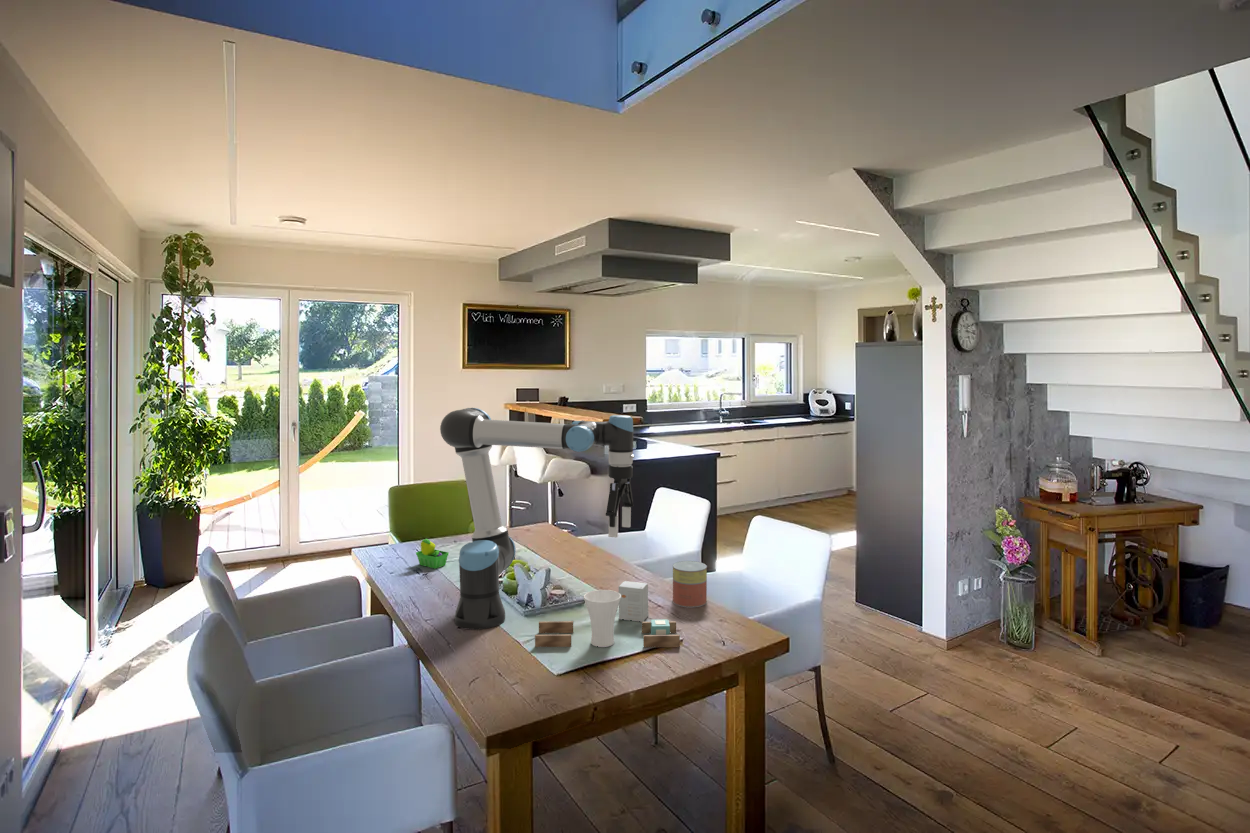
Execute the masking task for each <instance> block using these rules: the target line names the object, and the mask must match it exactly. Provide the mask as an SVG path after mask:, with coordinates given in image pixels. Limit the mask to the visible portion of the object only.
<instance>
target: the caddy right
mask: <svg viewBox="0 0 1250 833" xmlns="http://www.w3.org/2000/svg"><path fill="white" fill-rule="evenodd" d="M669 624H670V632H671V633H670V635H651V621H643V622H641V634H643V640H642V641H643V644H642V645H643V646H644V647H643V648H680V646H681V642H680V641H681V638H680V637H681V636H680V634H677V621H675V620H674V621H672V620H671V621H669Z"/></svg>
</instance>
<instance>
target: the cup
mask: <svg viewBox="0 0 1250 833" xmlns="http://www.w3.org/2000/svg"><path fill="white" fill-rule="evenodd" d="M620 598H621V594H620V593H619V591H615V590H611V589H596V590H590V591H588V592H586V593H585V594H584V595H583V600H584V603H585V605H586V609H587V612H588V615H589V619H590V626H591V627H590V628H591V640H590V643H591V645H592V646H594V647H597V646H598V648H605V647H606V648H607V647H611V646H614V644H615V637H614V630H615V620H616V615H617V612H618V609H619V602H620Z"/></svg>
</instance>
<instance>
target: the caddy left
mask: <svg viewBox="0 0 1250 833" xmlns="http://www.w3.org/2000/svg"><path fill="white" fill-rule="evenodd" d="M573 633H574V621H573V620H571V621H569V620H566V621H565V620H563V621H562V620H559V621H558V620H557V621H554V620H553V621H552V620H551V621H548V620H546V621H538V634H534V647H535V648H570V647H572V634H573Z"/></svg>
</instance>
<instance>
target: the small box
mask: <svg viewBox="0 0 1250 833" xmlns="http://www.w3.org/2000/svg"><path fill="white" fill-rule="evenodd" d="M617 588H618V593H620V594H621V598H620V602H619V605H618V619H619V620H622V619H624V621H630V620H632V621H633V622H639V621H640V623H642V622H645V621H646V619H647V618H648V616H649V584H648V582H637V581H628V580H624V581H623V582H621V583H620V585H618V587H617Z"/></svg>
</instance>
